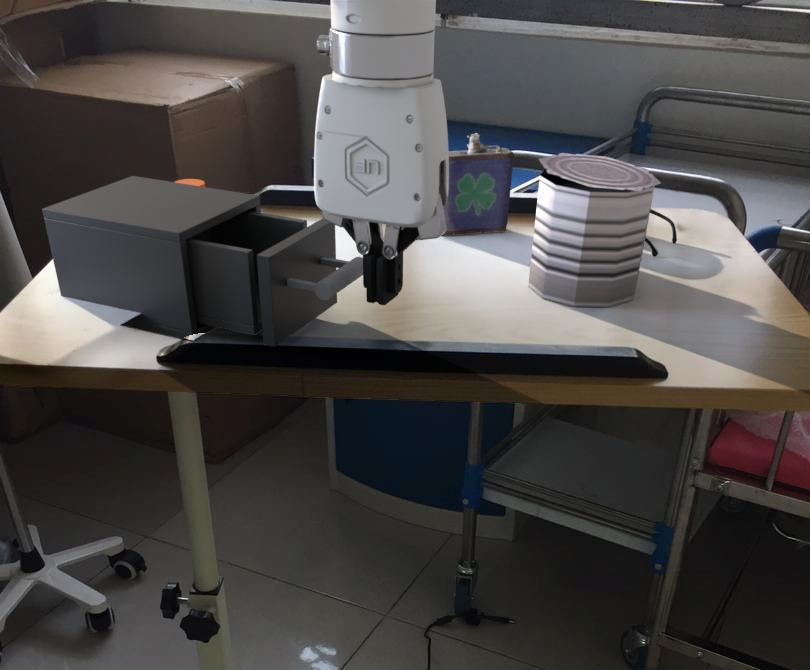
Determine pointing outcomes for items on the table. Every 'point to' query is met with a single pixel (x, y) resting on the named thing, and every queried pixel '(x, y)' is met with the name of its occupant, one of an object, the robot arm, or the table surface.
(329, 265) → the pull-out drawer box
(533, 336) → the table surface
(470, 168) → the flask
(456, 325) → the table surface
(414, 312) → the table surface
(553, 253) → the can
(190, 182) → the button
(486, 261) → the table surface
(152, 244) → the grey drawer casing
